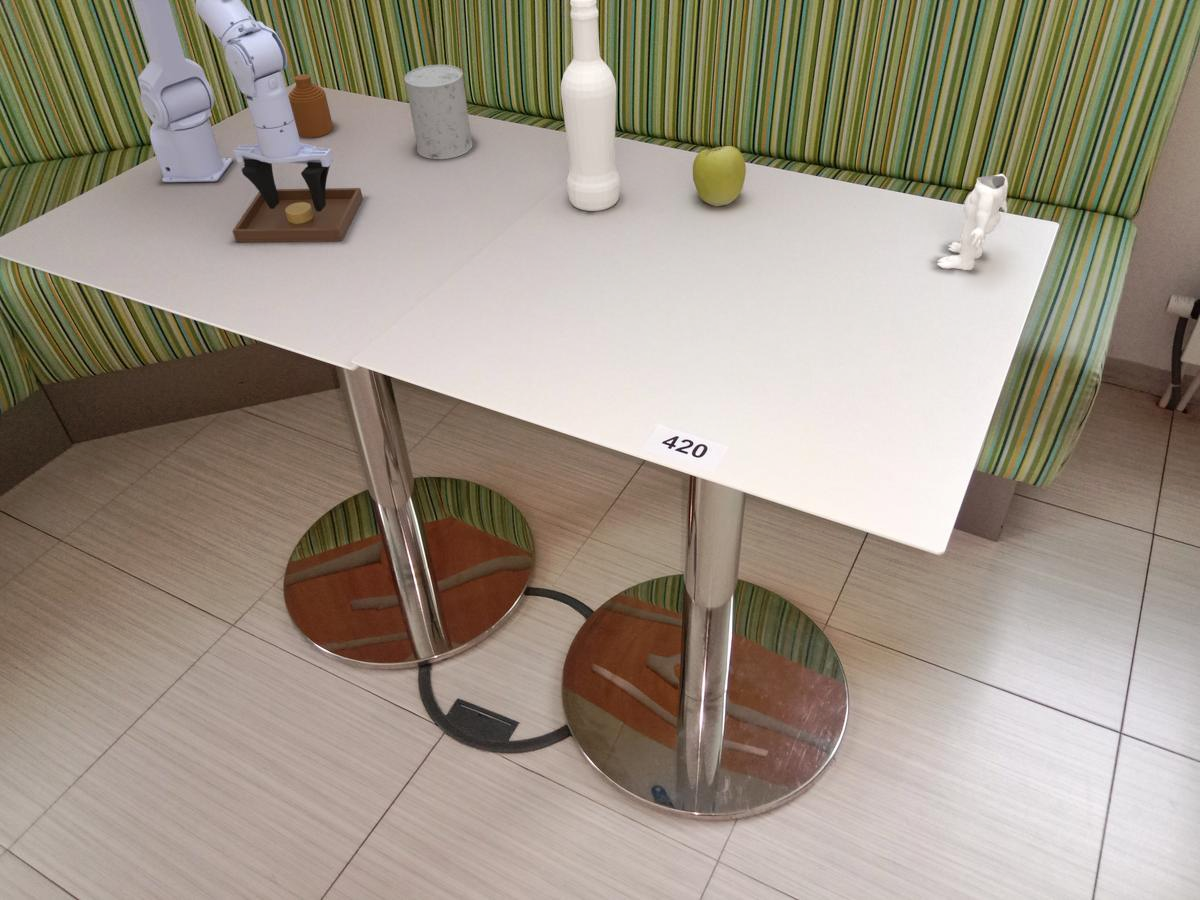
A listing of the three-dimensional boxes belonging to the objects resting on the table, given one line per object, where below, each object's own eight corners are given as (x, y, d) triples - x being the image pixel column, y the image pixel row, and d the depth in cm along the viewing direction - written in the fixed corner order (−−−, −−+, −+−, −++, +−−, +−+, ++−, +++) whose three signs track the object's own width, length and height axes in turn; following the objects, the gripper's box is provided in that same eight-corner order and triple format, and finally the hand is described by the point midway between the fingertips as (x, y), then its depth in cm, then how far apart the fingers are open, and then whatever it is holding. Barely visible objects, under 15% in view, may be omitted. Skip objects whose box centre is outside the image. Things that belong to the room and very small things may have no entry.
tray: (236, 242, 145) (232, 231, 143) (263, 200, 155) (260, 189, 153) (341, 241, 144) (338, 229, 142) (363, 198, 153) (360, 187, 152)
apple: (754, 204, 144) (737, 143, 138) (702, 219, 146) (683, 160, 140) (751, 180, 150) (735, 120, 144) (702, 195, 152) (683, 137, 146)
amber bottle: (294, 139, 172) (280, 85, 165) (300, 124, 176) (286, 71, 170) (331, 136, 172) (318, 82, 165) (335, 121, 176) (323, 68, 170)
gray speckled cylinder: (438, 164, 161) (426, 91, 153) (406, 147, 167) (392, 76, 159) (483, 146, 166) (474, 74, 158) (451, 130, 171) (440, 60, 163)
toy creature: (956, 236, 137) (974, 156, 129) (999, 246, 134) (1021, 165, 126) (927, 275, 130) (945, 193, 122) (973, 287, 127) (993, 204, 119)
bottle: (615, 214, 146) (607, 5, 126) (562, 211, 147) (546, 4, 127) (624, 189, 152) (618, -14, 132) (574, 186, 153) (561, -15, 133)
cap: (285, 215, 150) (283, 205, 149) (310, 209, 151) (308, 199, 150) (290, 226, 147) (287, 216, 146) (315, 220, 148) (313, 210, 147)
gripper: (331, 110, 140) (352, 196, 149) (240, 107, 143) (265, 192, 152) (312, 131, 135) (334, 219, 144) (217, 127, 138) (244, 214, 147)
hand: (297, 207), depth 148 cm, fingers open, 7 cm apart
